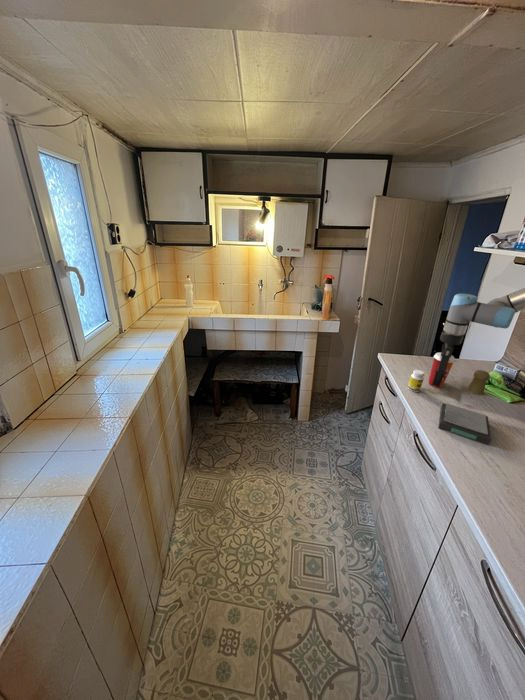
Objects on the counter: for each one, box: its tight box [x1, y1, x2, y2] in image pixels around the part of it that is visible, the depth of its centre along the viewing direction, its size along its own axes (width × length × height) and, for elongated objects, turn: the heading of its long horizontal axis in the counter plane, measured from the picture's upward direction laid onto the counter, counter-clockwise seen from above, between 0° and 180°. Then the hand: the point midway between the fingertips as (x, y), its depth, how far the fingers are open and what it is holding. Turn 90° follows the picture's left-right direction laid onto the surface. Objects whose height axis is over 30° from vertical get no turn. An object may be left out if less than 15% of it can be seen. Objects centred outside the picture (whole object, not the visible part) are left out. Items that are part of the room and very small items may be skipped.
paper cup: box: [427, 351, 456, 389], centre depth 120 cm, size 8×8×14 cm
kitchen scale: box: [437, 402, 492, 446], centre depth 97 cm, size 14×14×3 cm
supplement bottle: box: [407, 369, 425, 393], centre depth 117 cm, size 5×5×8 cm
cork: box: [466, 369, 491, 396], centre depth 114 cm, size 6×6×11 cm
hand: (436, 381), depth 122 cm, fingers open, 8 cm apart
